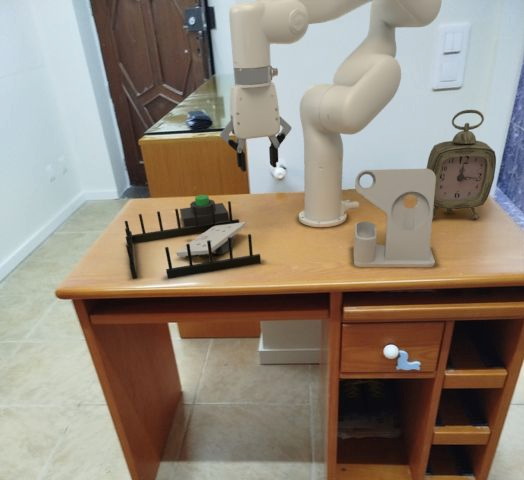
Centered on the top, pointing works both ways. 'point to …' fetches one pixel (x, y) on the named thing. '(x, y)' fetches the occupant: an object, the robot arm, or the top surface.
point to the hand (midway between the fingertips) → (258, 167)
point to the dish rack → (184, 231)
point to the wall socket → (212, 240)
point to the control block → (203, 214)
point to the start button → (202, 200)
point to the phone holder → (397, 219)
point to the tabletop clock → (462, 170)
